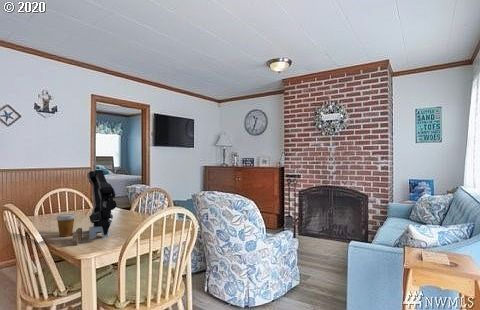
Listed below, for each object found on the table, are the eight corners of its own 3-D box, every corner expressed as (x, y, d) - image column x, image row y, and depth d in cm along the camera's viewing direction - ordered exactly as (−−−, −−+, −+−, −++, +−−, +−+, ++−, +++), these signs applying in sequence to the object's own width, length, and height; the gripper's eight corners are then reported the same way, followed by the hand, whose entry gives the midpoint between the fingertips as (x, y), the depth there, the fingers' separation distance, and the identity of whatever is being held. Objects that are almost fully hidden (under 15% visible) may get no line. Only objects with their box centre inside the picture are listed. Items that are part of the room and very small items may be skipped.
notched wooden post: (78, 238, 164) (78, 228, 164) (81, 238, 165) (82, 227, 165) (72, 245, 151) (72, 234, 151) (76, 245, 152) (77, 234, 152)
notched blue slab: (89, 237, 166) (89, 227, 166) (108, 236, 170) (108, 225, 170) (89, 238, 164) (89, 228, 164) (108, 237, 167) (108, 226, 167)
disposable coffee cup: (78, 233, 175) (78, 213, 175) (69, 237, 165) (69, 217, 165) (62, 233, 175) (62, 213, 175) (52, 237, 165) (52, 217, 165)
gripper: (92, 205, 174) (92, 231, 174) (87, 211, 157) (87, 239, 157) (112, 204, 178) (112, 229, 178) (110, 210, 160) (109, 238, 160)
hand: (105, 234), depth 168 cm, fingers open, 3 cm apart
